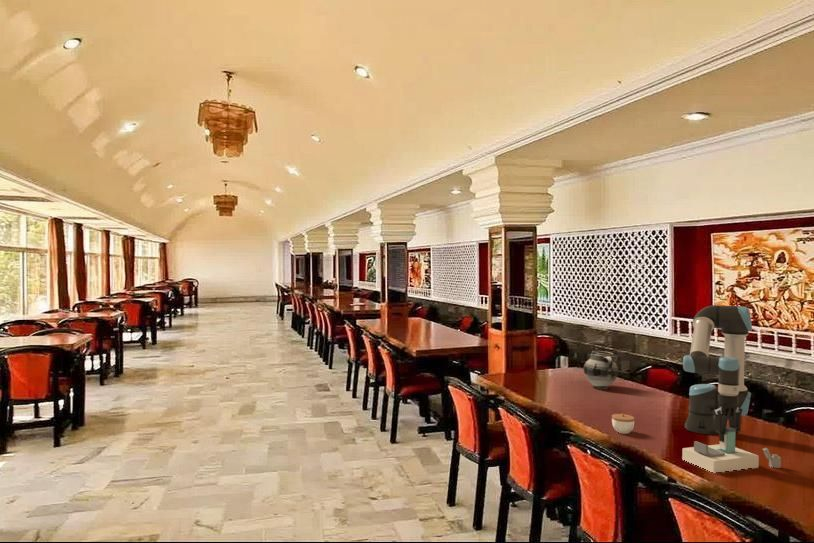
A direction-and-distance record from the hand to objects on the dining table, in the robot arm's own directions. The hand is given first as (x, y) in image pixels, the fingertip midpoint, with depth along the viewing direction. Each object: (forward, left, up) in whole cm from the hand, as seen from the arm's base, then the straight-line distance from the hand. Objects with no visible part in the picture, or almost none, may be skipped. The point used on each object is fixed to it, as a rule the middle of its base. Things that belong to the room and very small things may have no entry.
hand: (727, 448), depth 230 cm
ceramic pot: (-40, -136, -6) cm, 142 cm away
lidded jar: (+14, -48, -6) cm, 50 cm away
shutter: (+10, 0, -1) cm, 10 cm away
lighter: (-14, +9, -6) cm, 18 cm away
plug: (0, 0, -3) cm, 3 cm away
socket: (+4, 0, -6) cm, 7 cm away
